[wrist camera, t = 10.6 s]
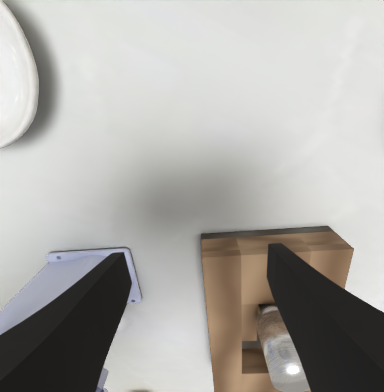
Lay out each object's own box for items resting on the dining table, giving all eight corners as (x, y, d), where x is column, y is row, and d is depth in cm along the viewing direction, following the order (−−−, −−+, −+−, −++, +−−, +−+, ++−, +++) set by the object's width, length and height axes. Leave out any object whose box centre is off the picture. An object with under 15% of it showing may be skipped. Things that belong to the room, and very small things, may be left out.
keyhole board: (212, 362, 30) (214, 395, 27) (201, 234, 22) (201, 257, 18) (304, 359, 29) (318, 393, 26) (327, 226, 21) (354, 248, 17)
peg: (241, 305, 24) (261, 397, 16) (242, 273, 22) (265, 359, 15) (282, 304, 24) (323, 397, 16) (287, 272, 22) (335, 359, 14)
